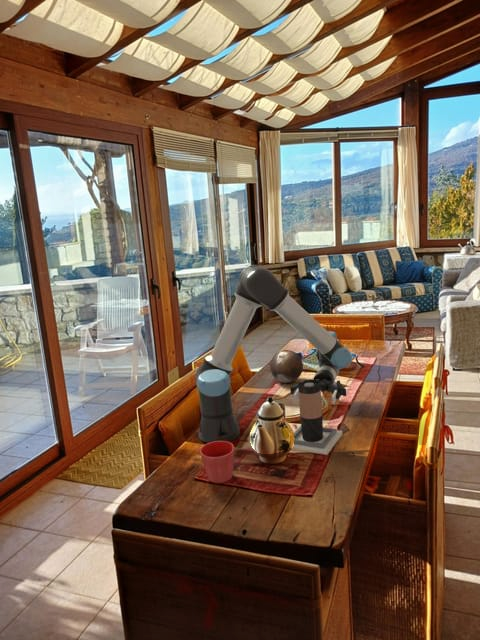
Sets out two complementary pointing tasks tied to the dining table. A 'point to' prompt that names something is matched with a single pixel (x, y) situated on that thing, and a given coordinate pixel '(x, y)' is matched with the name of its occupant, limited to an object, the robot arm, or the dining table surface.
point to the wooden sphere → (286, 366)
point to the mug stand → (320, 446)
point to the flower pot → (218, 460)
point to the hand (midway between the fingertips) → (313, 399)
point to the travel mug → (311, 410)
